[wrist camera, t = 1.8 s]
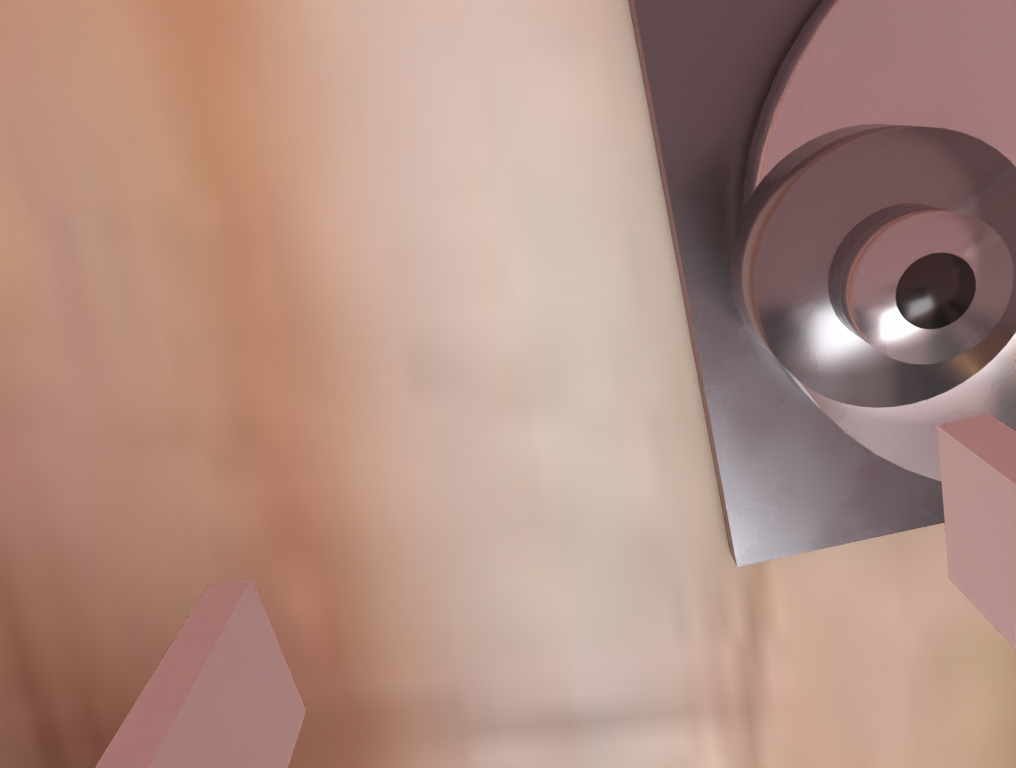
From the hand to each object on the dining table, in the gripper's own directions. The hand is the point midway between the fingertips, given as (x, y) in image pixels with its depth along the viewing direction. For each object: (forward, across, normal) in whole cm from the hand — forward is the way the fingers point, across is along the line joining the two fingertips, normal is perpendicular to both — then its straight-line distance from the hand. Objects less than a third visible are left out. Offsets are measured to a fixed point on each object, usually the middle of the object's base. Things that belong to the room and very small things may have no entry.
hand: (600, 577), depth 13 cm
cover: (+14, +10, 0) cm, 18 cm away
